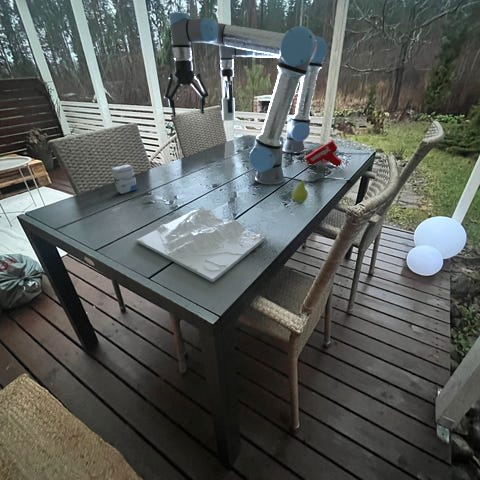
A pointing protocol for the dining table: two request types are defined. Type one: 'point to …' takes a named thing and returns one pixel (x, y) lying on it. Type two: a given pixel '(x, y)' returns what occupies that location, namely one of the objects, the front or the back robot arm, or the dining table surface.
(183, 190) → the dining table surface
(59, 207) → the dining table surface
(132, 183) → the ink box
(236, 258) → the relief map
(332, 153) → the toy gun
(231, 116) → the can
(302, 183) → the fruit
